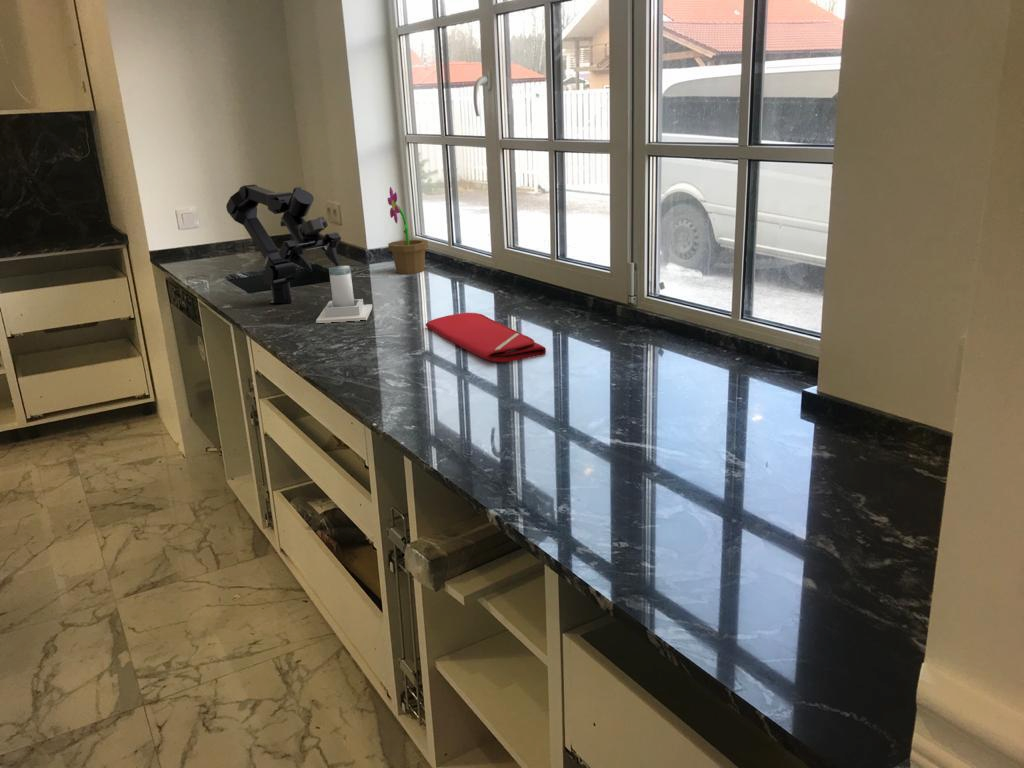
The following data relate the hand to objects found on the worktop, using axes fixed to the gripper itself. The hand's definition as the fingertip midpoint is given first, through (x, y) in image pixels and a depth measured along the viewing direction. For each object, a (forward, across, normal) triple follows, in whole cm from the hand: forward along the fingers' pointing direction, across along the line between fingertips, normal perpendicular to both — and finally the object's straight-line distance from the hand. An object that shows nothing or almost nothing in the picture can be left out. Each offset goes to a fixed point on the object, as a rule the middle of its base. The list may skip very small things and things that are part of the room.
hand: (324, 267), depth 246 cm
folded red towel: (+53, +3, -33) cm, 62 cm away
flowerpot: (-10, +54, +29) cm, 62 cm away
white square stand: (+14, 0, +4) cm, 15 cm away
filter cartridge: (+14, 0, +4) cm, 14 cm away
